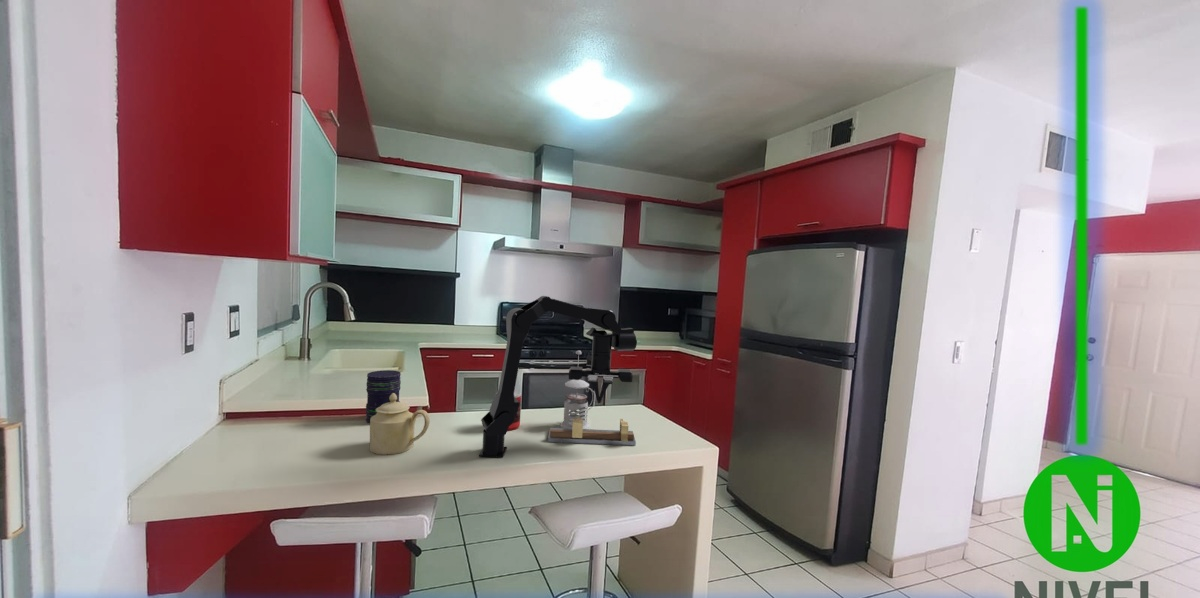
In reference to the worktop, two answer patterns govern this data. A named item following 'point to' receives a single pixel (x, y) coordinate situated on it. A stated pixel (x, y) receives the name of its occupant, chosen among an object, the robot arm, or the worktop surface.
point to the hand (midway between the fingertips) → (598, 402)
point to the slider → (577, 428)
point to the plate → (590, 440)
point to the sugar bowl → (394, 428)
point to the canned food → (517, 420)
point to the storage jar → (381, 390)
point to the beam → (599, 433)
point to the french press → (575, 406)
